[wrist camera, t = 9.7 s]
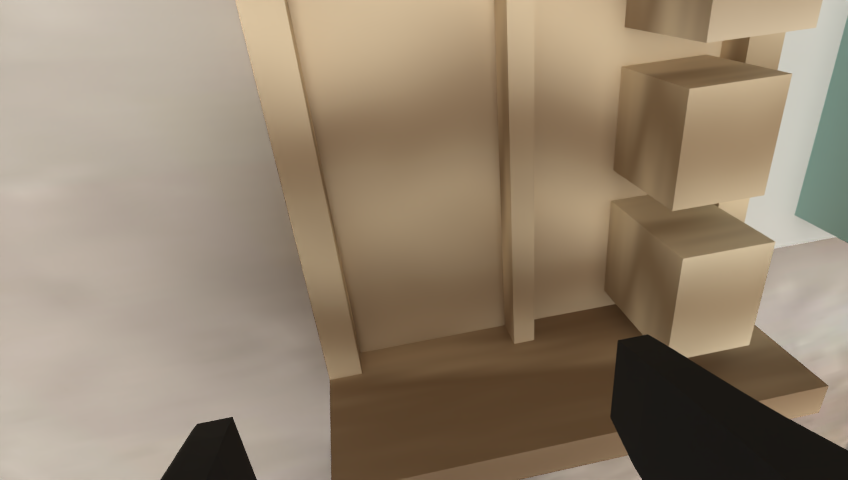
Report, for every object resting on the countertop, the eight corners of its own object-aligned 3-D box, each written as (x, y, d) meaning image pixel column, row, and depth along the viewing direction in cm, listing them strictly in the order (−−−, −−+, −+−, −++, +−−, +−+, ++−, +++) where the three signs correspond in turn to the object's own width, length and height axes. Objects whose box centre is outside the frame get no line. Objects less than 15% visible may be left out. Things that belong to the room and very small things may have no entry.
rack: (694, 301, 23) (819, 412, 17) (334, 371, 21) (338, 520, 16) (790, -227, 14) (1099, -355, 9) (202, -178, 13) (105, -297, 7)
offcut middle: (691, 157, 19) (764, 195, 16) (613, 170, 19) (672, 211, 15) (706, 54, 17) (792, 73, 14) (621, 66, 17) (689, 88, 14)
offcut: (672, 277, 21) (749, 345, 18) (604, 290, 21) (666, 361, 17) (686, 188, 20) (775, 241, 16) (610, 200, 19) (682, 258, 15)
